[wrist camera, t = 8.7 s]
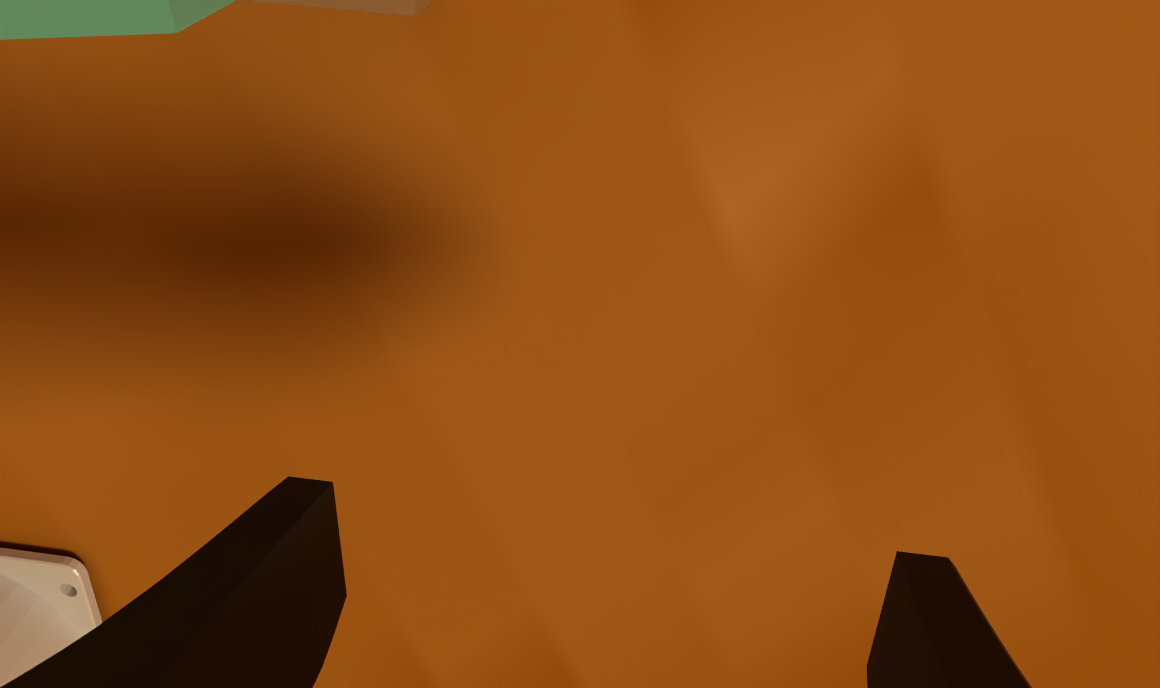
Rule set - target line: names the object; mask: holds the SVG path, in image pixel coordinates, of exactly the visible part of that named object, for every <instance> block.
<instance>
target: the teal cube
mask: <svg viewBox="0 0 1160 688" xmlns="http://www.w3.org/2000/svg"><path fill="white" fill-rule="evenodd" d="M234 1H236V0H0V40H4V39H30V38H57V37H84V36H111V35H137V34H164V33H178V32H180V31H181V30H183V29H185V28H187V27H189V26H190V25H192V24H194V23H196V22H198V21H200V20H201V19H203V18H205V17H207V16H209V15H210V14H212V13H214V12H216V11H218V10H219V9H221V8H223V7H225V6H227V5H229V4H230V3H232V2H234Z"/></svg>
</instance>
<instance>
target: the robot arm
mask: <svg viewBox="0 0 1160 688" xmlns="http://www.w3.org/2000/svg"><path fill="white" fill-rule="evenodd" d="M346 596H347V594H346V586H345V578H344V569H343V561H342V553H341V545H340V537H339V528H338V520H337V512H336V504H335V496H334V487H333V482H329V481H321V480H313V479H304V478H296V477H287V478H286V479H285V480H283V481H282V482H281V483H280V484H278V485H277V486H276V487H275V488H273V489H272V490H271V491H270V492H268V493H267V494H266V495H265V496H263V497H262V498H261V499H260V500H259V501H257V502H256V503H255V504H254V505H253V506H251V507H250V508H249V509H248V510H246V511H245V512H244V513H243V514H242V515H240V516H239V517H238V518H237V519H236V520H234V521H233V522H232V523H231V524H230V525H228V526H227V527H226V528H225V529H224V530H222V531H221V532H220V533H219V534H218V535H216V536H215V537H214V538H213V539H211V540H210V541H209V542H208V543H207V544H205V545H204V546H203V547H202V548H200V549H199V550H198V551H197V552H195V553H194V554H193V555H192V556H190V557H189V558H188V559H186V560H185V561H184V562H183V563H181V564H180V565H179V566H178V567H176V568H175V569H174V570H173V571H171V572H170V573H169V574H168V575H166V576H165V577H164V578H163V579H161V580H160V581H159V582H157V583H156V584H155V585H153V586H152V587H151V588H149V589H148V590H147V591H145V592H144V593H143V594H141V595H140V596H138V597H137V598H136V599H134V600H133V601H132V602H130V603H129V604H127V605H126V606H125V607H123V608H122V609H121V610H119V611H118V612H116V613H115V614H114V615H112V616H111V617H110V618H108V619H107V620H105V621H104V622H102V619H101V615H100V612H99V609H98V606H97V602H96V599H95V596H94V592H93V589H92V586H91V582H90V579H89V576H88V572H87V570H86V568H85V566H84V565H83V564H82V563H81V562H80V561H78V560H76V559H75V558H71V557H67V556H59V555H52V554H44V553H37V552H30V551H22V550H15V549H7V548H0V688H312V687H313V685H314V683H315V681H316V679H317V677H318V675H319V673H320V671H321V668H322V666H323V664H324V661H325V658H326V655H327V652H328V650H329V647H330V644H331V641H332V638H333V636H334V633H335V630H336V627H337V623H338V620H339V617H340V614H341V611H342V608H343V605H344V602H345V599H346ZM867 684H868V688H1032V687H1031V686H1030V684H1029V683H1028V681H1027V680H1026V679H1025V677H1024V676H1023V674H1022V673H1021V671H1020V670H1019V668H1018V667H1017V665H1016V664H1015V662H1014V661H1013V659H1012V658H1011V656H1010V655H1009V653H1008V652H1007V650H1006V649H1005V647H1004V646H1003V644H1002V642H1001V641H1000V639H999V638H998V636H997V635H996V633H995V631H994V630H993V628H992V627H991V625H990V623H989V622H988V620H987V619H986V617H985V615H984V614H983V612H982V611H981V609H980V607H979V606H978V604H977V602H976V601H975V599H974V597H973V596H972V594H971V592H970V591H969V589H968V587H967V586H966V584H965V582H964V581H963V579H962V577H961V576H960V574H959V572H958V570H957V569H956V567H955V566H954V564H953V563H952V562H951V561H950V559H949V558H947V557H939V556H931V555H923V554H915V553H907V552H898V551H897V553H896V557H895V561H894V564H893V568H892V572H891V576H890V580H889V583H888V587H887V591H886V595H885V599H884V602H883V606H882V610H881V614H880V618H879V622H878V625H877V629H876V633H875V637H874V641H873V644H872V648H871V652H870V656H869V660H868V663H867Z"/></svg>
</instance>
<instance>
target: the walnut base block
mask: <svg viewBox="0 0 1160 688" xmlns="http://www.w3.org/2000/svg"><path fill="white" fill-rule="evenodd" d="M248 1H258V2H269V3H280V4H290V5H301V6H312V7H322V8H333V9H344V10H354V11H365V12H375V13H386V14H397V15H407V16H416V15H418V14H419V13H420V12H421V11H422V10H423V9H425V8H426V7H427V6H428V5H429V4H430V3H432V2H433V1H434V0H248Z"/></svg>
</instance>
